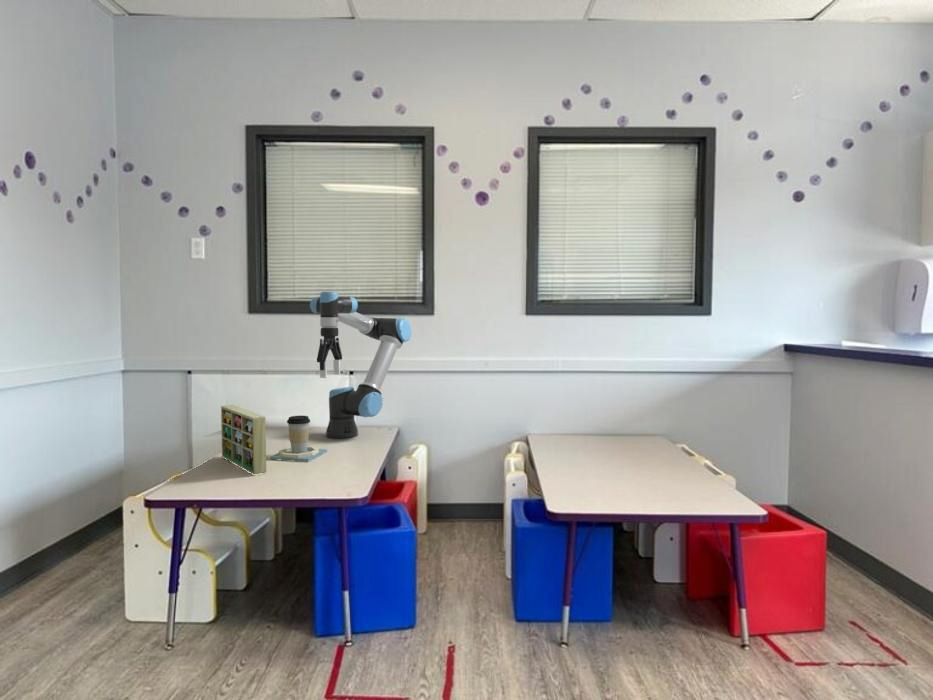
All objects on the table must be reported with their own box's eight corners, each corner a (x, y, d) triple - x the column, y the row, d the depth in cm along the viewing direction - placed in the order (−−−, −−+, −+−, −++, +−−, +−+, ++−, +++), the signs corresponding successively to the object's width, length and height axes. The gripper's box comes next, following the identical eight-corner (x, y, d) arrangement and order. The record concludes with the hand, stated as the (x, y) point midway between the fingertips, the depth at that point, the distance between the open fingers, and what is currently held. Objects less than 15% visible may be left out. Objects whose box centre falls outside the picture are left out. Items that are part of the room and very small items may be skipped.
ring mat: (290, 450, 256) (290, 444, 256) (327, 452, 253) (326, 446, 253) (269, 459, 240) (269, 453, 240) (308, 462, 236) (308, 456, 236)
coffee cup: (304, 456, 241) (303, 419, 240) (283, 455, 243) (282, 418, 242) (314, 450, 250) (314, 415, 249) (294, 449, 252) (293, 414, 251)
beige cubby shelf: (221, 458, 242) (220, 405, 241) (233, 456, 245) (232, 404, 244) (254, 476, 216) (253, 417, 215) (267, 474, 219) (265, 416, 218)
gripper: (324, 328, 244) (325, 379, 245) (349, 326, 268) (349, 373, 270) (307, 328, 245) (308, 379, 247) (333, 326, 270) (334, 372, 271)
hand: (330, 376), depth 258 cm, fingers open, 13 cm apart
